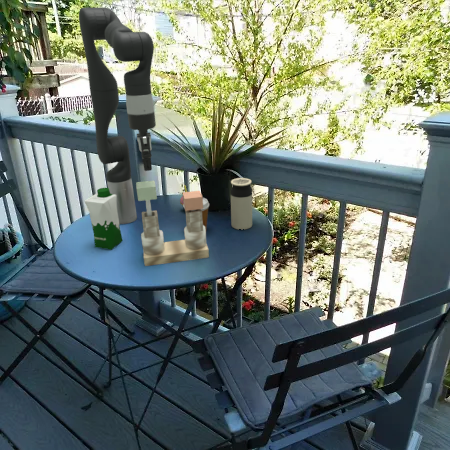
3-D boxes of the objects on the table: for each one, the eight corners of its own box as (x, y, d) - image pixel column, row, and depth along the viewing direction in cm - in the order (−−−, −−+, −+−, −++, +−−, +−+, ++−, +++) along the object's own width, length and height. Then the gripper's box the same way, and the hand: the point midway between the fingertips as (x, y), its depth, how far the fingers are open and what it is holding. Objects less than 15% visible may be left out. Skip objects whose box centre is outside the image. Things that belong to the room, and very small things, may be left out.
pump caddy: (144, 266, 129) (138, 221, 122) (144, 252, 137) (138, 209, 130) (209, 257, 133) (206, 213, 126) (204, 244, 141) (201, 202, 134)
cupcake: (184, 216, 163) (182, 188, 157) (178, 208, 170) (175, 181, 164) (204, 212, 166) (202, 184, 160) (197, 204, 173) (195, 178, 167)
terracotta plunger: (187, 230, 129) (184, 198, 124) (185, 223, 134) (182, 192, 129) (204, 228, 130) (202, 196, 125) (201, 221, 135) (199, 190, 130)
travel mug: (252, 230, 150) (252, 184, 142) (231, 230, 150) (230, 185, 142) (251, 220, 157) (251, 177, 149) (231, 221, 157) (230, 177, 149)
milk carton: (126, 239, 146) (118, 188, 137) (111, 251, 138) (102, 198, 129) (106, 236, 149) (96, 186, 140) (90, 248, 141) (79, 195, 132)
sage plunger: (141, 221, 124) (136, 188, 119) (140, 214, 129) (136, 182, 124) (159, 219, 125) (155, 186, 120) (158, 212, 130) (154, 180, 125)
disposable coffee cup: (207, 237, 145) (205, 207, 140) (182, 236, 147) (179, 206, 142) (213, 226, 154) (211, 197, 148) (189, 224, 155) (187, 196, 150)
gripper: (156, 114, 107) (162, 172, 114) (152, 105, 120) (157, 158, 127) (127, 116, 106) (135, 174, 113) (126, 107, 118) (133, 160, 125)
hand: (147, 165), depth 120 cm, fingers open, 8 cm apart
